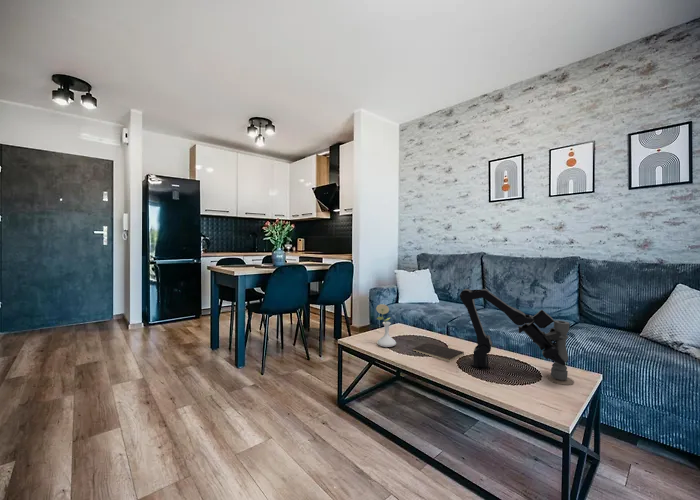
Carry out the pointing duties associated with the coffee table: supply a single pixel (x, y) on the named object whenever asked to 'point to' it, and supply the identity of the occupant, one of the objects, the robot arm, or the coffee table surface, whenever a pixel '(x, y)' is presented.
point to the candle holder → (561, 350)
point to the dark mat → (562, 382)
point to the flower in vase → (386, 339)
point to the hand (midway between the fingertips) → (563, 362)
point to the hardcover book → (438, 351)
